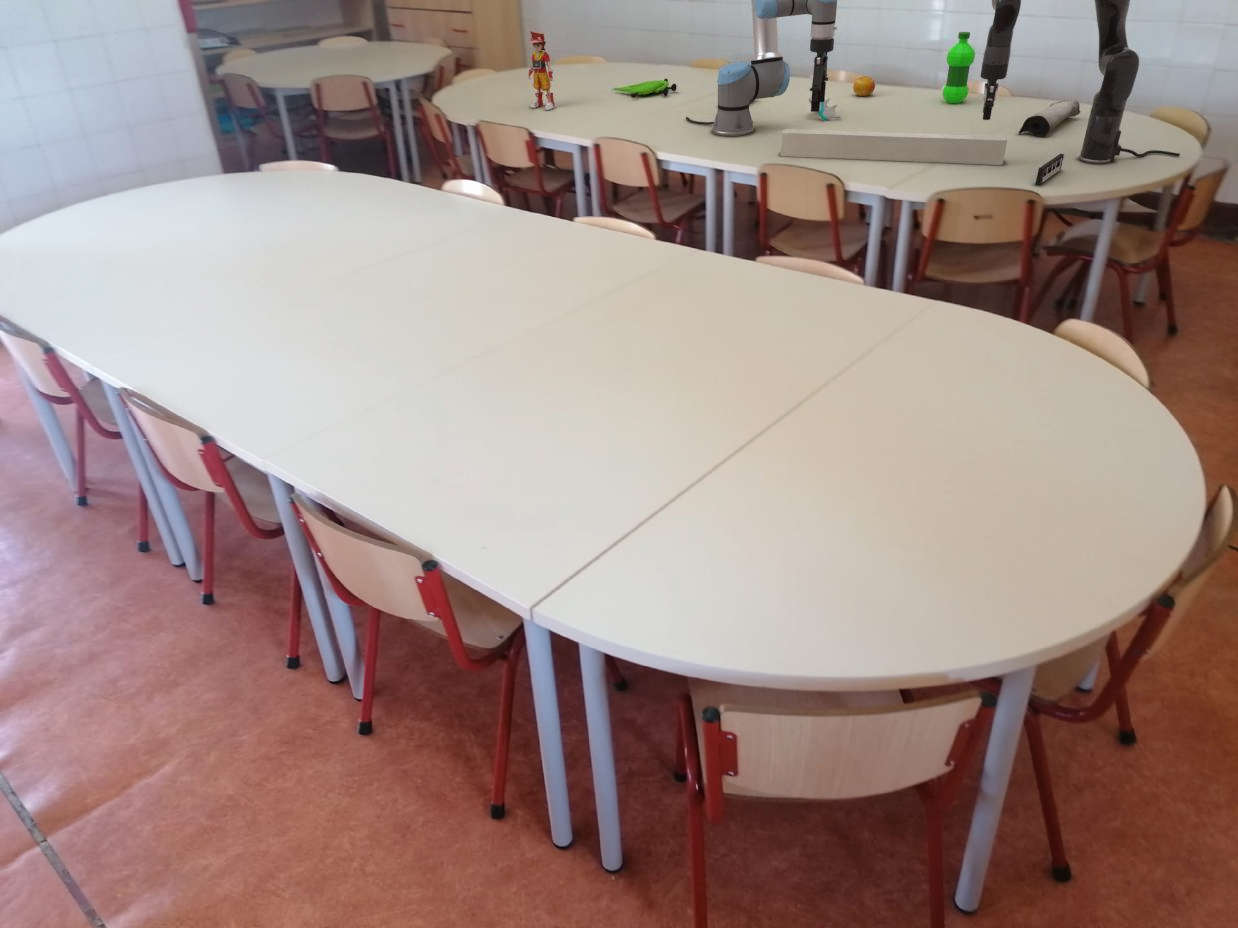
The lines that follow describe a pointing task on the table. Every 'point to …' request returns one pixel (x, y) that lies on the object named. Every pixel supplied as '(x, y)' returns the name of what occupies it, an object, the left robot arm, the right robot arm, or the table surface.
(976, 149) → the bar
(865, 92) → the fruit
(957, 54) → the plastic bottle
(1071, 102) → the rolled mat
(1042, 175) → the midi keyboard
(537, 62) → the toy
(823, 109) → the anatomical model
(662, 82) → the toy
